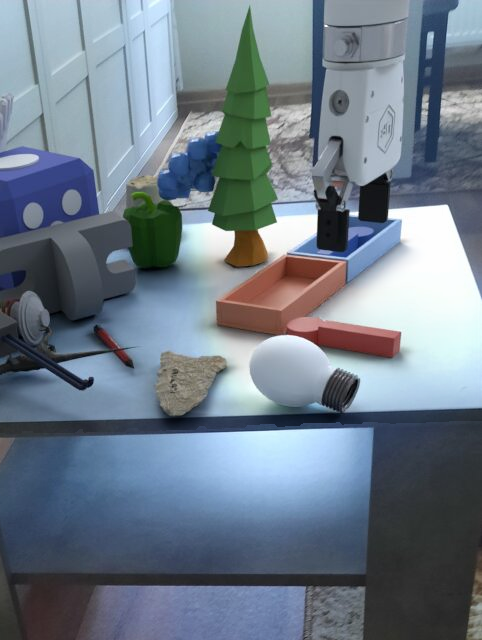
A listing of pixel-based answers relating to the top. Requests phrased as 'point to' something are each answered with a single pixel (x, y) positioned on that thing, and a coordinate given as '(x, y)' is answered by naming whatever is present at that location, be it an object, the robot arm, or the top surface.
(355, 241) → the blue spoon
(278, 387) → the light bulb
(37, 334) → the shock absorber
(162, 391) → the stone tool
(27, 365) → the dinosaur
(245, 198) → the decorative tree
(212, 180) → the grapes
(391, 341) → the red spoon
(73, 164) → the toy
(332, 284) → the red bin
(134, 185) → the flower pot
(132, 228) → the bell pepper
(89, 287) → the bracket
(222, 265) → the top surface
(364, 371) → the top surface
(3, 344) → the dark blue hooked rod
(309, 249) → the blue bin
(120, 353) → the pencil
